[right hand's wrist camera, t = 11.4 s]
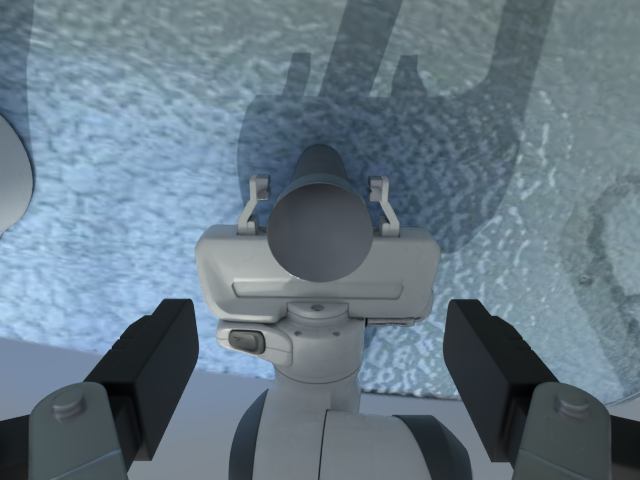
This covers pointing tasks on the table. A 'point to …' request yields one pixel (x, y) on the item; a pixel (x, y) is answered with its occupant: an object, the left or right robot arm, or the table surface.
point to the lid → (320, 228)
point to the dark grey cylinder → (319, 162)
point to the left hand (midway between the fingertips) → (319, 176)
